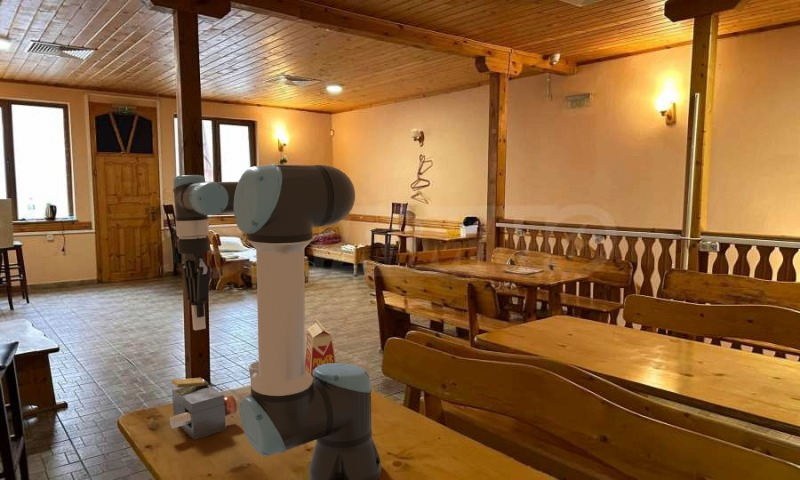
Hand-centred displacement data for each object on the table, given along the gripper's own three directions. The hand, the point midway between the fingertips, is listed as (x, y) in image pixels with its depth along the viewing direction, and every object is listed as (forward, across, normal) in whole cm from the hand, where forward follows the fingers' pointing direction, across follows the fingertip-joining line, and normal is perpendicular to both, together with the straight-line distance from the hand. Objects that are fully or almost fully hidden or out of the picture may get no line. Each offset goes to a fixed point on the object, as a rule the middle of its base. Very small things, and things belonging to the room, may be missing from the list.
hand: (199, 328), depth 141 cm
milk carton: (+25, 0, -36) cm, 44 cm away
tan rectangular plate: (+15, +3, +2) cm, 15 cm away
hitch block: (+25, -1, +2) cm, 25 cm away
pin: (+23, -5, +2) cm, 23 cm away
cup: (+25, +8, -20) cm, 33 cm away
